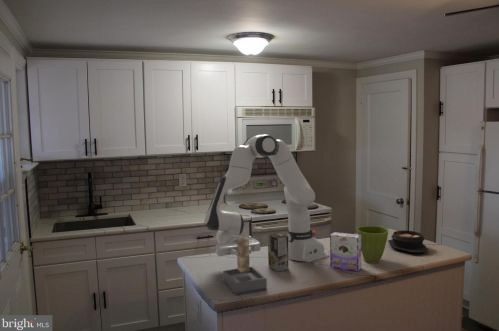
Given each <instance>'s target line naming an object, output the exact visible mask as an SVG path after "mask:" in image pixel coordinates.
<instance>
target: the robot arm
mask: <svg viewBox="0 0 499 331" xmlns="http://www.w3.org/2000/svg"><path fill="white" fill-rule="evenodd" d="M264 157H268V158H269V160H270V161H271V164H272V166H273V167H274V170H275V172H276V175H277V176H278V178H279V179H280V181H281V183H282V184H283V185H284V188H283V193H284V196H285V203H286V204H285V205H286V209H287V215H288V216H287V218H288V229H287V236H288V260H291V261H296V262H297V261H300V262H305V263H309V262H313V261H318V260H320V259H321V260H322V259H324V258H328V257H329V258H330V253H328V252H327V251H326V250H325V248H324V244H323V243H322V242H321V241H320V240H318V239H317V238H316V237H315V236H317V234H318V232H317V231H316V230H312V229H311V215H310V212H309V209H308V207H309V206H311V205H312V204H313V203H314V202H315V200H316V193H315V191H314V190H313V188H312V187H311V185H310V183H309V182H308V180H307V179H306V177H305V176H304V175H303V173H302V171H301V170H300V168H299V166H298V163H297V162H296V160H295V157H294V155H293V154H292V151H291V149H290V148H289V147H288V145H287V144H286V142H285V141H284V140H283V139H275V137H273V136H271V134H270V135H269V134H266V133H265V134H257V135H254V136H251V137H248V138H247V139H246V140H245V141H244V143H243V144H242V145H241V144H240V145H237V146H235V148H234V149H233V150H232V154H231V157H230V160H229V166H228V170H227V172H226V173H225V174H224V175H222V176H221V177H220V178H219V180H218V182H217V185H216V187H215V189H214V193H213V196H212V198H211V202H210V205H209V207H208V209H207V211H206V213H205V217H204V225H205V227H206V228H207V229H208V230H209V231H211V232H214V231H215V232H216V234H215V235H216V236H215V237H216V241H217V243H216V244H215V246H212V250H214V251H215V254H216V255H217V256H218V257H225V256H230V255H232V256H233V255H235V256H236V257H237V255H240V254H239V253H240V252H239V251H238V250H237V238H241V237H246V238H248V239H249V255H250V254H251V255H252V253H254V252H260V251H261V246H262V245H261V242H260V241H259V240H257V239H256V238H253V237H252V236H251V235H243V234H242V233H243V231H244V227H245V220H244V218H243V216H242V214H241V213H240V212H237V211H236V212H235V211H228V210H223V209H222V210H221V209H220V208H221V205H222V202H223V200H224V196H225V195H226V192H228V191H229V190H232V189H235V188H240V187H242V186H244V185H246V184H247V183H248V182H249V181H250V179H251V175H252V170H253V164H254V161H255V159H257V158H258V159H260V158H264Z"/></svg>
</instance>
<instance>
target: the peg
mask: <svg viewBox="0 0 499 331" xmlns="http://www.w3.org/2000/svg"><path fill="white" fill-rule="evenodd" d="M237 250H238V251H239V252H240V253H239V254H240V255H237V256H236V258H237V269H238V270H239V271H240V272H247V271H249V267H250V254H249V239H248V238H246V237H241V238H237Z"/></svg>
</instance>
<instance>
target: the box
mask: <svg viewBox="0 0 499 331" xmlns="http://www.w3.org/2000/svg"><path fill="white" fill-rule="evenodd" d="M222 275H223V276H222V278H223V279H222V280H223V283H224V284H225V285H226V287H227V288H228V289H229V290H230V291H231V292H232V293H233V294H234V295H235V296H239V295H245V294H246V295H247V294H250V293H256V292H260V291H261V292H262V291H267V290H268V287H267V283H268V282H267V277H266V276H265V275H263V274H262V273H261V272H260V271H259V270H257V269H256V268H255V267H254V266H249V271H247V272H240V271H239V270H238V268H234V269H226V270H222Z"/></svg>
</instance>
